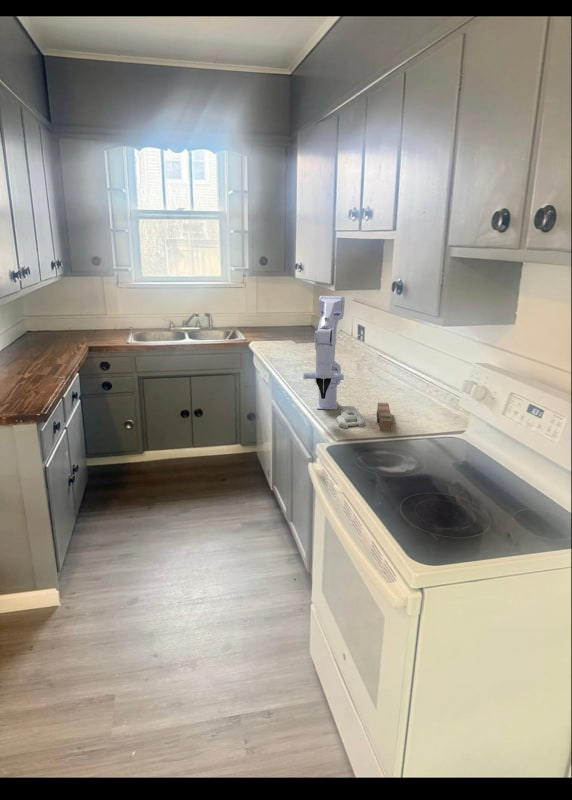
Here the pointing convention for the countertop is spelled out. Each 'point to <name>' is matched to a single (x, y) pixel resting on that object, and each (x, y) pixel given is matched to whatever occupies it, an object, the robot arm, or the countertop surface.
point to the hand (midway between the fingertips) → (323, 398)
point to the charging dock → (384, 417)
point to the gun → (350, 417)
